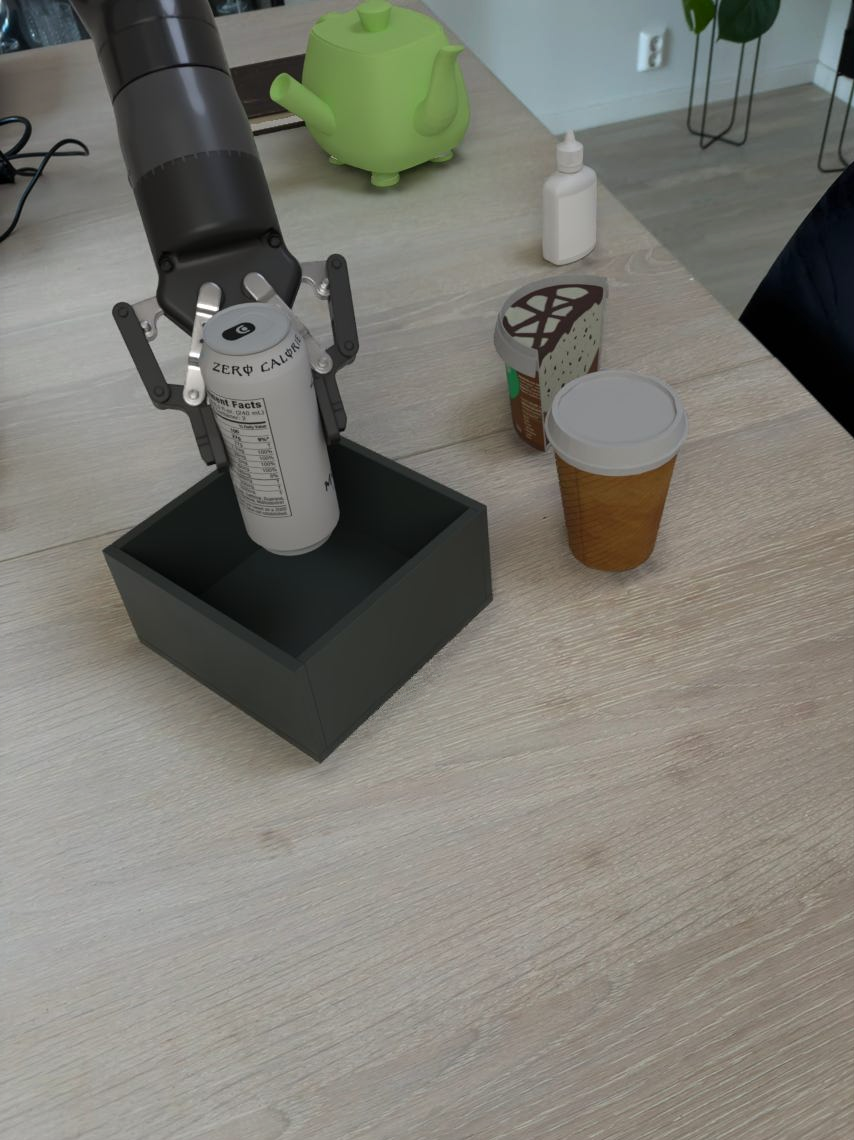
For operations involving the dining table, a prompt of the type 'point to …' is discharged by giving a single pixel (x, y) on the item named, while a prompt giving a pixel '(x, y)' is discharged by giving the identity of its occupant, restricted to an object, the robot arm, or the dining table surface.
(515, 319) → the food container
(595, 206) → the eye dropper bottle
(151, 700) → the dining table surface
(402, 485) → the bin
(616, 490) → the disposable coffee cup
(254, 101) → the hardcover book
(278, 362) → the energy drink can
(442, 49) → the teapot
